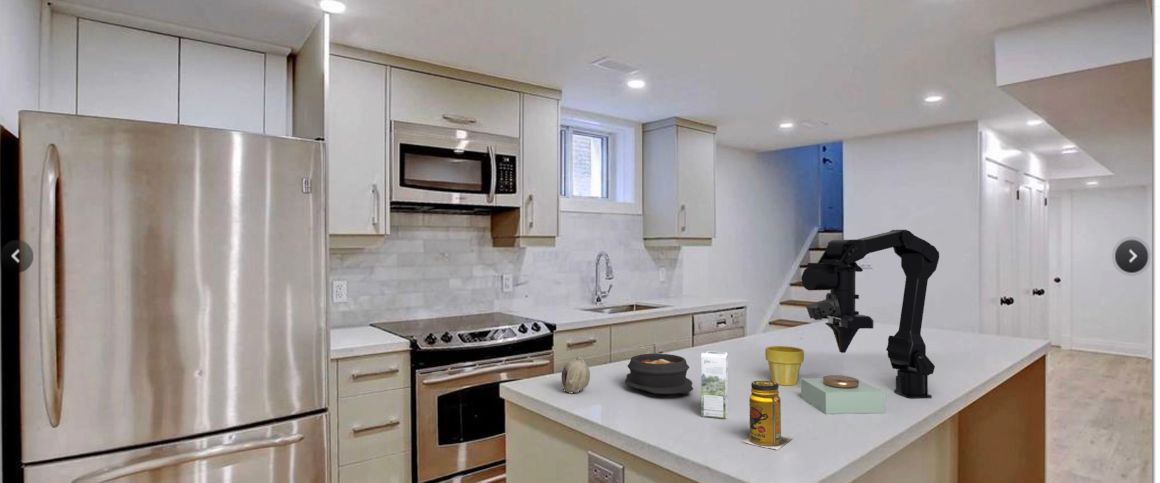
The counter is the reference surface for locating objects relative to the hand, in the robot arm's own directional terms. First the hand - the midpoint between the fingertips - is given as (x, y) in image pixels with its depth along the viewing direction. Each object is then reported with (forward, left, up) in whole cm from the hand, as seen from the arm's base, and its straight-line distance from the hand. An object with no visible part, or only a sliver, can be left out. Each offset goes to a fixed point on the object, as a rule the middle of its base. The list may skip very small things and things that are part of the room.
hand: (842, 352), depth 144 cm
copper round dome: (+1, +2, -11) cm, 12 cm away
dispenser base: (+1, +2, -13) cm, 13 cm away
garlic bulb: (+66, -15, -13) cm, 69 cm away
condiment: (+28, +26, -13) cm, 40 cm away
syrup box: (+34, +8, -13) cm, 37 cm away
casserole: (+43, -17, -13) cm, 48 cm away
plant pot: (+6, -21, -13) cm, 26 cm away
